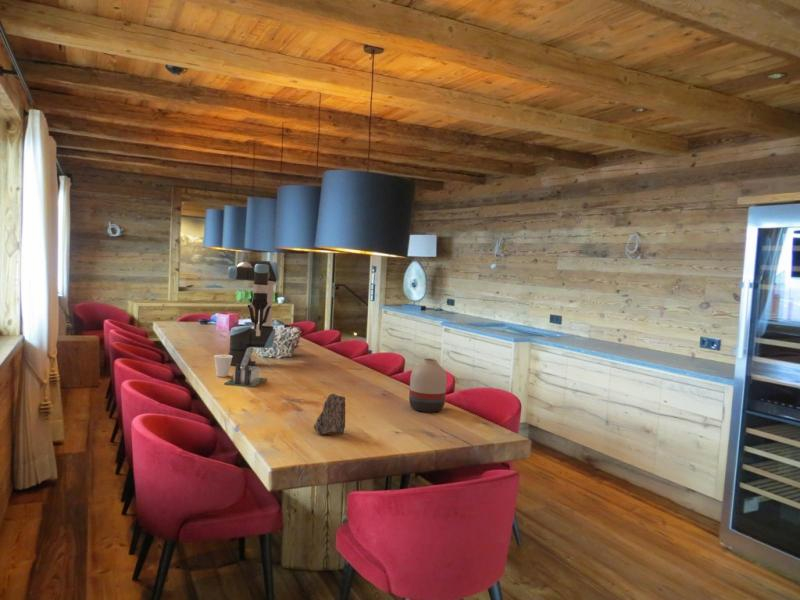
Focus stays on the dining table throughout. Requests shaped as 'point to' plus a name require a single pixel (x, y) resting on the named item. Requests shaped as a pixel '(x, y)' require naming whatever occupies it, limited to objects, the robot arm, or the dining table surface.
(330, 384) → the dining table surface
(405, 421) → the dining table surface
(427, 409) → the vase
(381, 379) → the dining table surface
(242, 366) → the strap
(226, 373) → the cup
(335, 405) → the stone
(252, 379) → the green circuit board
